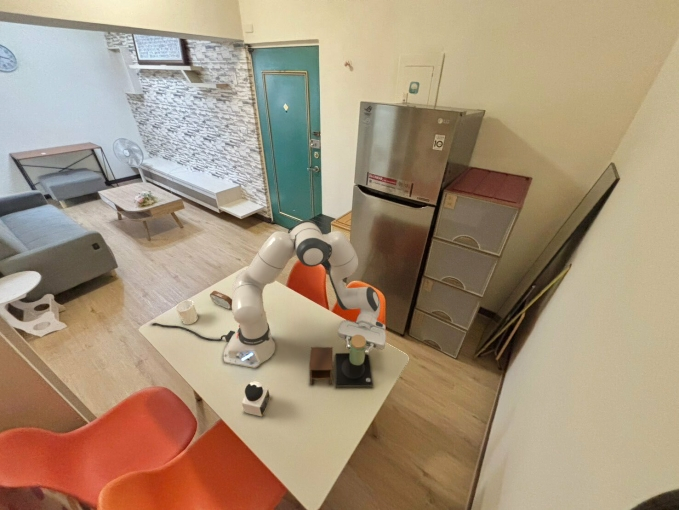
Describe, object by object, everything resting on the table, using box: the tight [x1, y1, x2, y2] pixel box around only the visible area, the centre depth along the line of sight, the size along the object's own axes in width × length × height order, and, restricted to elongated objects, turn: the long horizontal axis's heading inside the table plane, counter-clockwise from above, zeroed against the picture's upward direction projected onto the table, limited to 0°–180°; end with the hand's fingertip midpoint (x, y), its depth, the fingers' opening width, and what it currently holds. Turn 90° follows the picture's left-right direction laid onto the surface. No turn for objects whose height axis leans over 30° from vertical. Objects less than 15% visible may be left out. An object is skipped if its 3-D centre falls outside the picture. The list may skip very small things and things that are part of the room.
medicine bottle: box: [241, 380, 271, 417], centre depth 98 cm, size 7×7×12 cm
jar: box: [348, 335, 367, 365], centre depth 106 cm, size 6×6×11 cm
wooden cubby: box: [308, 346, 334, 385], centre depth 110 cm, size 9×10×11 cm
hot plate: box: [334, 352, 374, 389], centre depth 113 cm, size 15×15×3 cm
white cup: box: [175, 299, 199, 325], centre depth 132 cm, size 8×8×10 cm
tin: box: [209, 290, 232, 310], centre depth 141 cm, size 15×3×8 cm, turn 65°
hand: (357, 350), depth 105 cm, fingers closed on jar, 6 cm apart
